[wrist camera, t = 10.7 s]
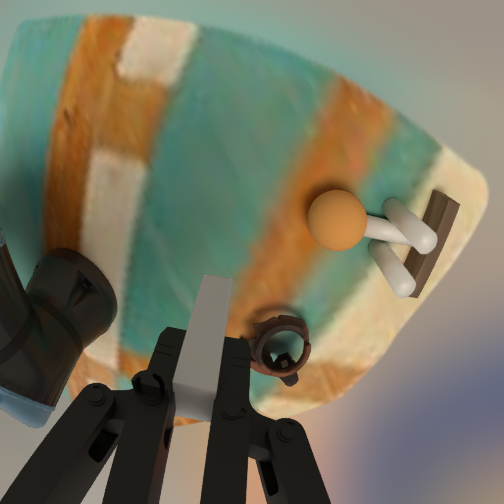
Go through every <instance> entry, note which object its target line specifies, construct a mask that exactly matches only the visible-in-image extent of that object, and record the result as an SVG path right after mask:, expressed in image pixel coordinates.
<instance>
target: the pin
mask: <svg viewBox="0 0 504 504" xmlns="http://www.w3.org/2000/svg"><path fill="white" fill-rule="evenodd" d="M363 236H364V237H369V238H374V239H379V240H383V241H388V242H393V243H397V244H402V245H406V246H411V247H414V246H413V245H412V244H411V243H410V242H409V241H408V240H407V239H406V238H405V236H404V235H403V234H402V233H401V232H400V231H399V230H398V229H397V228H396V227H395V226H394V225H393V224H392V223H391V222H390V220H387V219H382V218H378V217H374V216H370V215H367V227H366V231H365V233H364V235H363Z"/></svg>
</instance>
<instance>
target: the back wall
mask: <svg viewBox="0 0 504 504" xmlns="http://www.w3.org/2000/svg"><path fill="white" fill-rule="evenodd" d="M459 206H460V204H459V203H457V202H456V201H454V200H453V199H451V198H450V197H448V196H447V195H445V194H443V193H440V192H438V191H435V190H433V192H432V195H431V198H430V201H429V204H428V207H427V209H426V212H425V215H424V217H423V220H422V221H423V222H424V223H425V224H426V225H427V226H428V227H430V228H431V229H432V230H433V231H434V232H435V233H436V235H437V244H436V246H435V248H434V249H433V250H432V251H431V252H429V253H427V254H420V253H419V252H418V251H417V250H416V249H415V248H414V247H411V250H410V252H409V254H408V256H407V259H406V261H405V263H404V266H405V268H406V269H407V270H408V272H409V273H410V275H411V276H412V277H413V279H414V280H415V282H416V287H415V290H414V291H413V292H412V294H410V295H409V296H408V297H414V298H418V296H419V295H420V293H421V291H422V289H423V287H424V285H425V283H426V282H427V280H428V278H429V276H430V274H431V272H432V270H433V268H434V266H435V263H436V261H437V259H438V257H439V255H440V253H441V251H442V248H443V246H444V244H445V242H446V239H447V237H448V235H449V232H450V230H451V227H452V225H453V222H454V220H455V217H456V215H457V212H458V209H459Z"/></svg>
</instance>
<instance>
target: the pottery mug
mask: <svg viewBox="0 0 504 504" xmlns="http://www.w3.org/2000/svg"><path fill="white" fill-rule="evenodd" d="M253 327H254V330H255V333H256V336H257V339H250V340H249V341H248V343H249V345H250V348H251V366H250V367H251V368H252V369H254V370H255V371H257V372H259V373H261V374H264V375H271V376H275V377H279V378H280V379H281V380H282V381H283V382H284V383H285V385H287V386H293V385H294V384H296V383H297V382H298V375H297V371H298V370H300V369H301V368H302V367H303V365H304V364H305V363H306V362H307V360H308V358H309V355H310V352H311V344H310V343H309V338H308V337H309V332H308V329H307V327H306V325H305V323H304V322H303V321H302V320H301V319H299V318H296V317H293V316H288V315H279V316H278V318H276V317H272V318H270V319H268V320H267V321H265V322H262V323H255V324H253ZM285 330H286V331H293V332H296V333H298V334H299V335H300V336H301V337H302V338H303V339H304V348H303V353H302V355H301V357H300V359H299V360H298V361H297V362H295V361H294V360H293V359H292V358H291V356H290V355H289V353H288V352H286V353H284V354H280V355H278V357H277V359H276V360H275V361H274V362H273V360H272V357H271V355H270V352H265V353H262V349H263V346H264V344H265V342H266V341H267V340H268V339H269V338H270V337H271V336H272V335H274V334H275V333H277V332H280V331H285ZM240 339H243V338H240Z"/></svg>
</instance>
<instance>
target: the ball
mask: <svg viewBox="0 0 504 504" xmlns="http://www.w3.org/2000/svg"><path fill="white" fill-rule="evenodd" d="M307 223H308V228H309V231H310V233H311V235H312V237H313V239H314V240H315V241H316V242H317V243H318V244H319V245H321V246H322V247H324V248H326V249H329V250H333V251H342V250H347V249H349V248H351V247H353V246H355V245H356V244H357V243H358V242H359V241H360V240H361V239H362V237H363V235H364V233H365V231H366V227H367V215H366V211H365V208H364V206H363V205H362V203H361V202H360V200H359V199H358V198H357V197H355V196H354V195H353V194H351V193H349V192H346V191H343V190H331V191H327V192H325V193H323V194H321V195H320V196H318V197H317V198H316V199H315V200H314V201H313V203H312V204H311V206H310V209H309V211H308V217H307Z"/></svg>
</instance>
